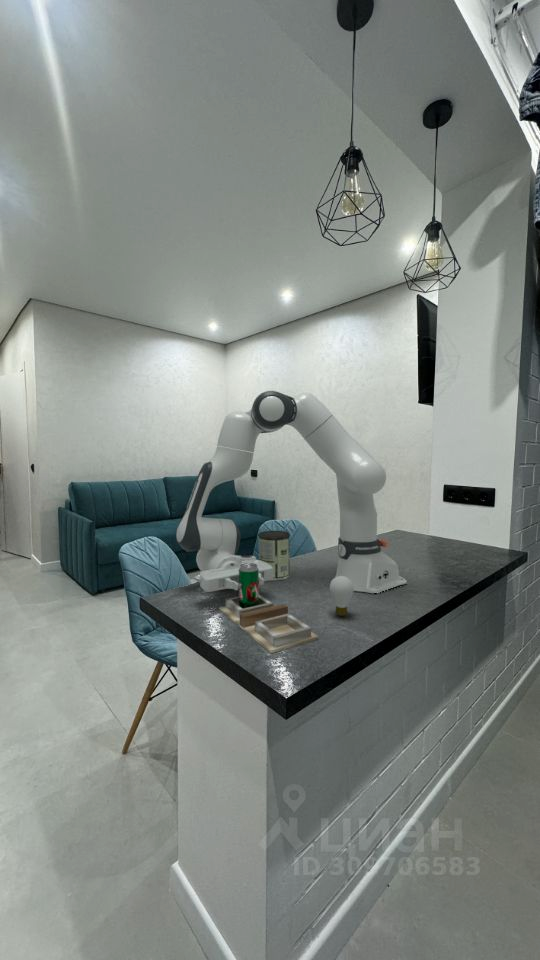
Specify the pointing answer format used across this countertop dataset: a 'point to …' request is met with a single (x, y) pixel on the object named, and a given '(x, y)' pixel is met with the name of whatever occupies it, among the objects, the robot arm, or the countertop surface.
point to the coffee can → (275, 552)
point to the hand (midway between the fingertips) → (250, 584)
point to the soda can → (249, 585)
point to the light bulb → (341, 593)
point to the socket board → (269, 624)
